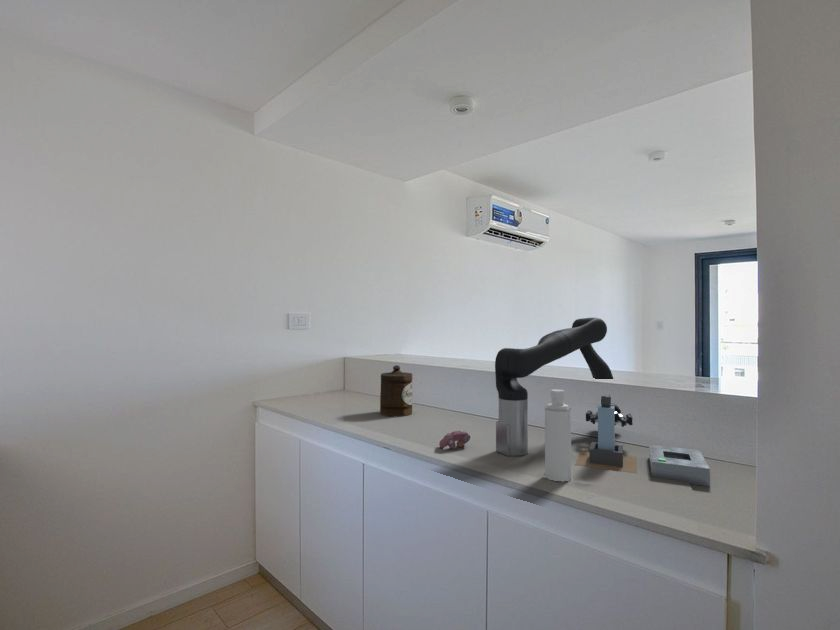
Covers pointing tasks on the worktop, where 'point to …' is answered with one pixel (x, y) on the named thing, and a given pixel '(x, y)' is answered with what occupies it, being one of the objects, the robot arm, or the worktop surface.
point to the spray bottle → (558, 438)
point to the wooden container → (396, 393)
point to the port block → (679, 464)
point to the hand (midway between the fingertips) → (608, 422)
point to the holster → (607, 459)
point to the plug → (606, 424)
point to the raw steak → (455, 439)
